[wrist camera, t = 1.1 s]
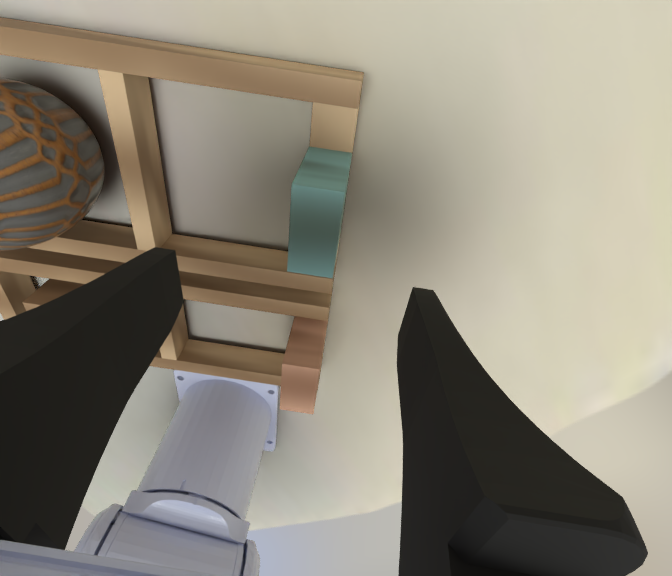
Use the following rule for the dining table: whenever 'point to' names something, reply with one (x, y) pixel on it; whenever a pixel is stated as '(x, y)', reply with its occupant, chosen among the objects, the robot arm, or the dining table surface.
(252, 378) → the frame
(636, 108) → the dining table surface
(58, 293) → the walnut cube
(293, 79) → the tray
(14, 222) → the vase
